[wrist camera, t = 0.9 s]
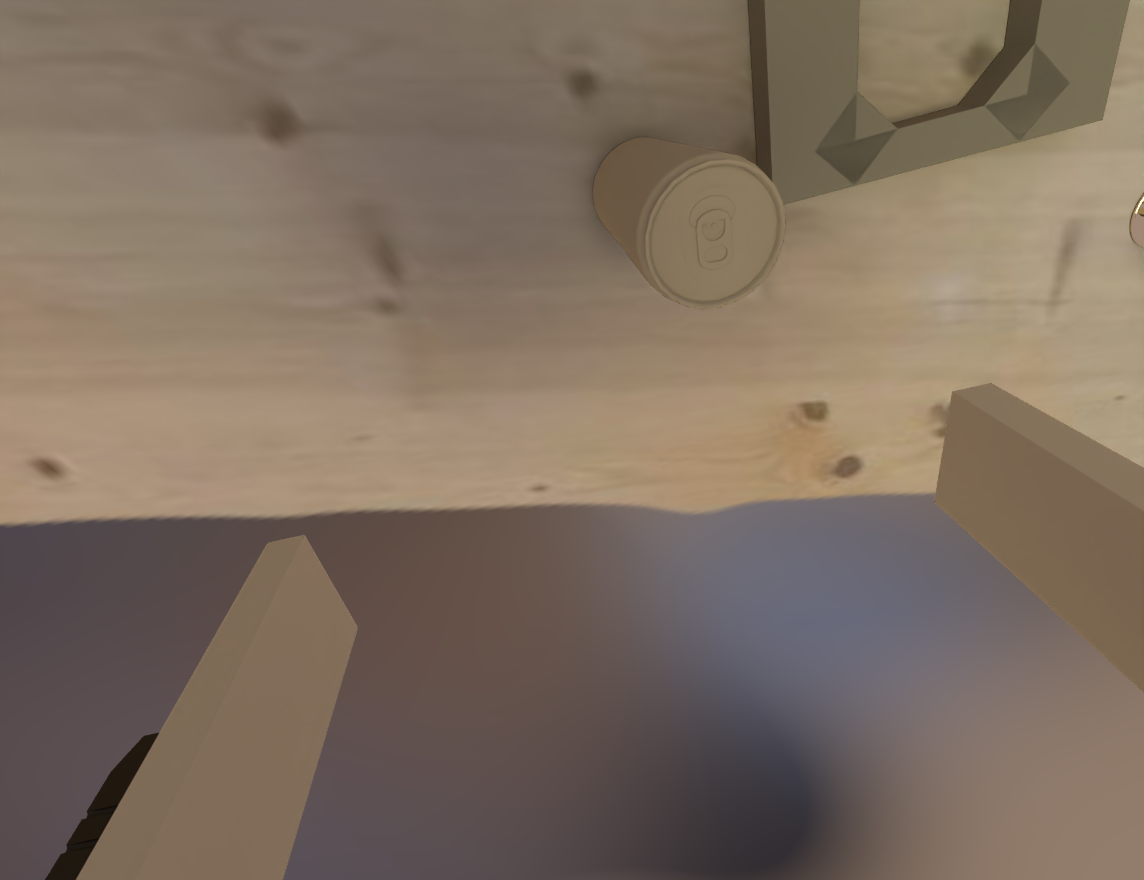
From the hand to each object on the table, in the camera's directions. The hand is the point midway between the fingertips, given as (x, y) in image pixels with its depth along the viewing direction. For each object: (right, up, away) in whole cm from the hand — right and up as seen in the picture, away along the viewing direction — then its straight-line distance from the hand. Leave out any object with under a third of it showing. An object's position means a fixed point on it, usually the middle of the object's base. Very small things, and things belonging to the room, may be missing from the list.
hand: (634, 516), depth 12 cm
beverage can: (+2, +14, +17) cm, 22 cm away
